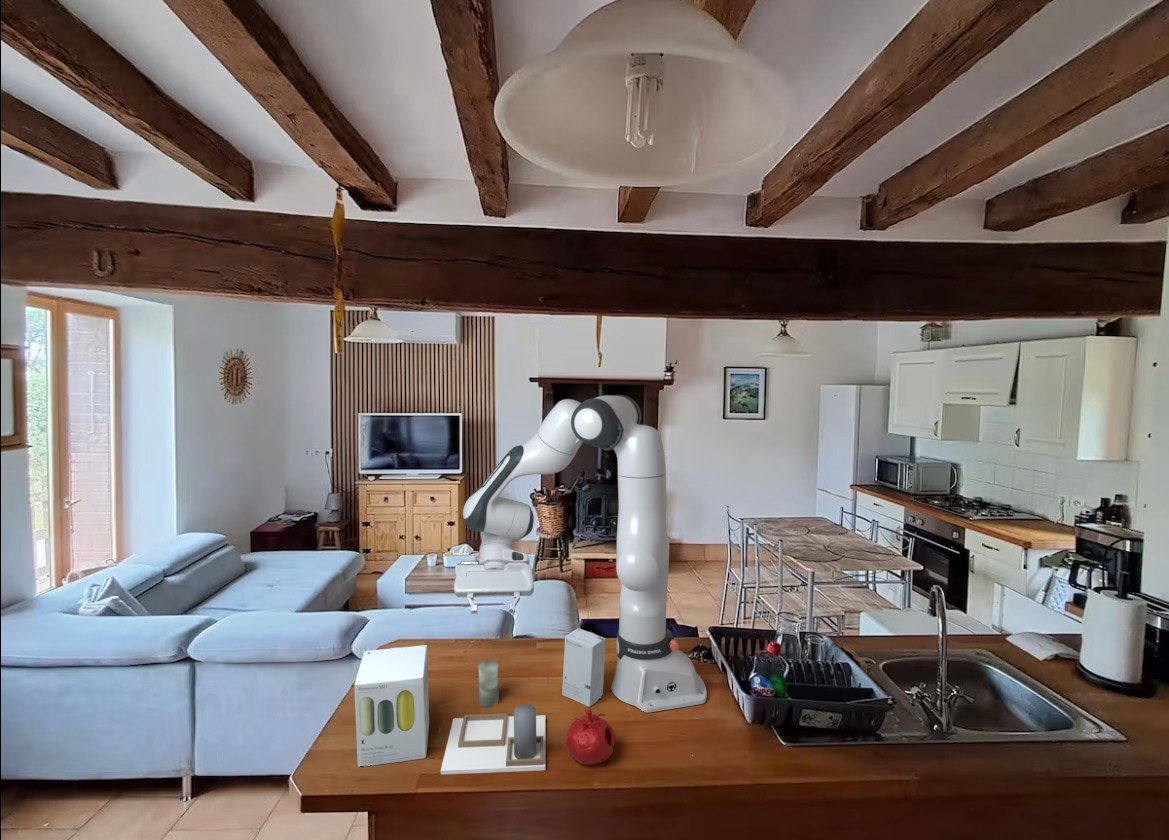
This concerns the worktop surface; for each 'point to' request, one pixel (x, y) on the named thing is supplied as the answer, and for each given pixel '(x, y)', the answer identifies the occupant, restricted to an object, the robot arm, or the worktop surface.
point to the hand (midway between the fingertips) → (493, 612)
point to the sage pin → (488, 683)
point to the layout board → (496, 743)
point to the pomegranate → (590, 739)
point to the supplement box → (392, 705)
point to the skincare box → (583, 666)
